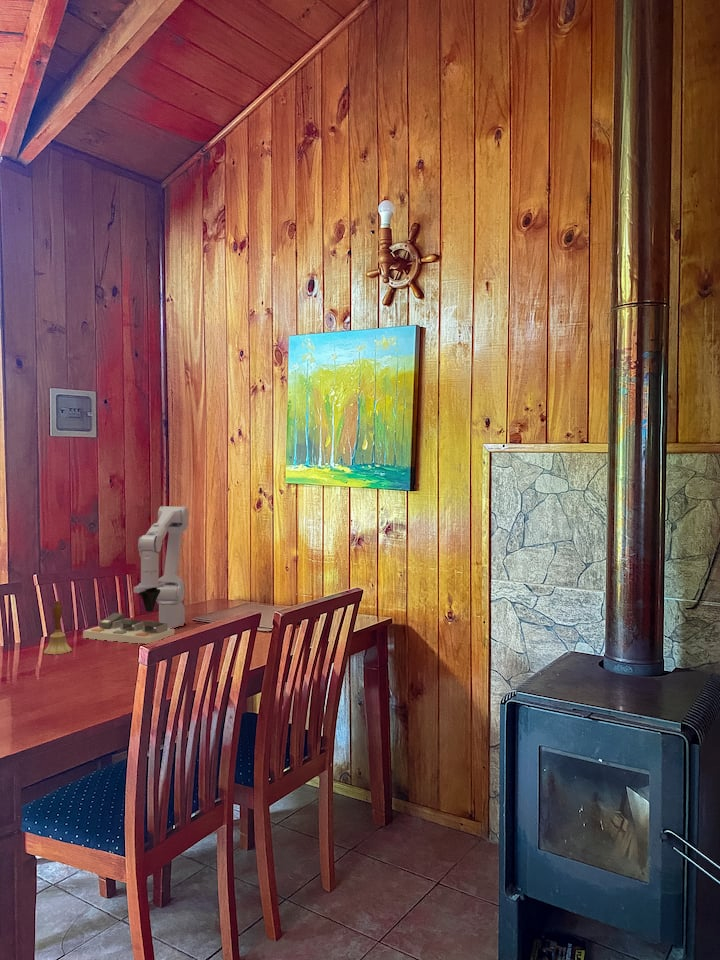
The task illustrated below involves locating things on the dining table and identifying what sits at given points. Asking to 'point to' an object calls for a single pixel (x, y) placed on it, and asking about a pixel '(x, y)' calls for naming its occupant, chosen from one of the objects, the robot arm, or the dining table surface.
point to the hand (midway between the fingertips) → (149, 611)
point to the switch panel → (129, 633)
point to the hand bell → (57, 635)
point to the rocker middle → (130, 621)
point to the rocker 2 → (152, 623)
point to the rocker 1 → (111, 620)
